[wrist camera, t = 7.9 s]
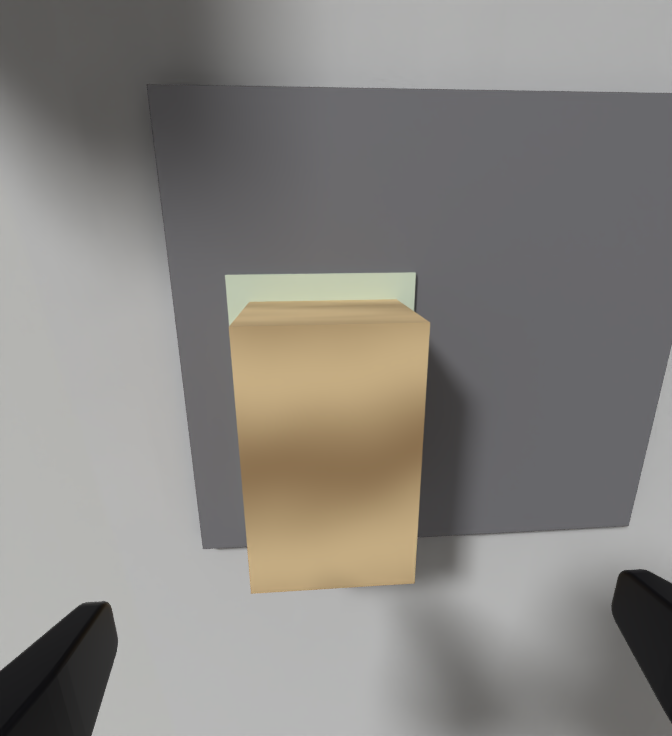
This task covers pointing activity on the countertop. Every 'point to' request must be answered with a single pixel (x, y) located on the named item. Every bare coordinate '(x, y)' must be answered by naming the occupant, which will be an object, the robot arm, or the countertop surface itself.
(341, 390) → the oak block
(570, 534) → the countertop surface
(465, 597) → the countertop surface
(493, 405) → the mat
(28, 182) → the countertop surface
